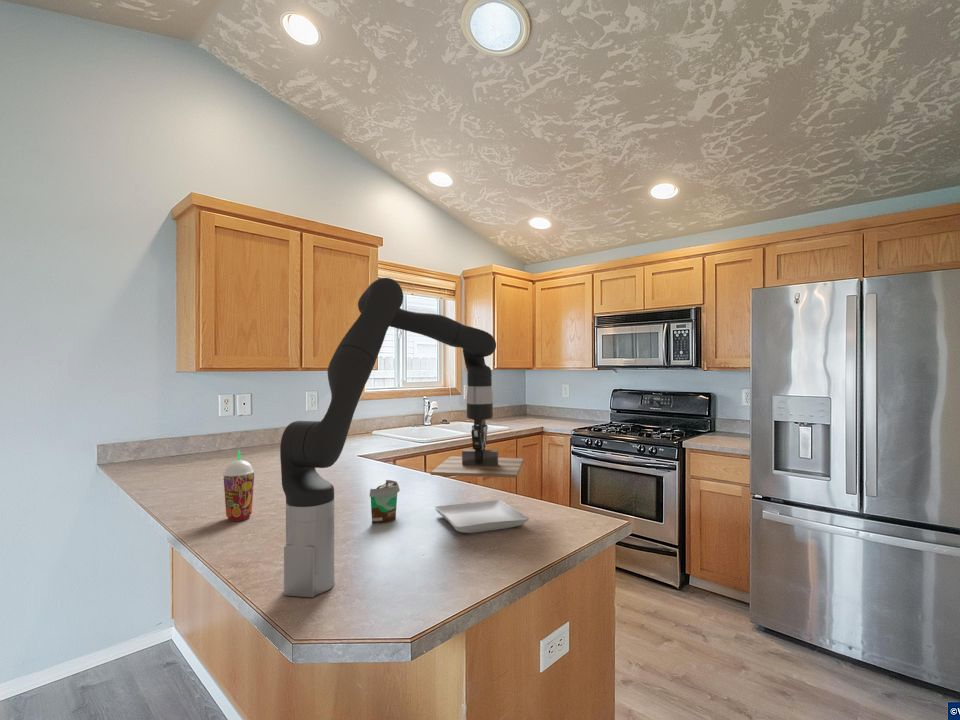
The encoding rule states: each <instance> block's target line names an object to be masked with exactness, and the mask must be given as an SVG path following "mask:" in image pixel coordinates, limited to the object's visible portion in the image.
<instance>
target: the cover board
mask: <svg viewBox="0 0 960 720" xmlns="http://www.w3.org/2000/svg"><path fill="white" fill-rule="evenodd" d="M523 463H524V457H523V458H522V457H499V450H497V449H485V450H483V463H482V464H476V463H475V450H474V449H466V448H465V449H463V450H462V451H461V456H452V455H451V456H449V457H448V458H447V459H445V460H444V461H443V462H441V463H440V464H438V465H437V467H435V468H434V469H433V470H431V471H430V476H449V477H456V476H457V477H483V478H485V477H486V478H511V479H512V478H513V479H514V478H518V475H519V473H520V471H521V469H522V465H523Z"/></svg>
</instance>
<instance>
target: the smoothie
mask: <svg viewBox="0 0 960 720" xmlns="http://www.w3.org/2000/svg"><path fill="white" fill-rule="evenodd" d="M224 470H225V471H224V472H223V473H222V475H223V487H224V488H223V490H224V504H225V516H226V517H227V520H228V521H229V522H242V521H241V520H243V521H245V519H246V520H248V519H249V518H250V517H251V514H252V513H253V512H252V511H253V500H254V499H253V498H254V485H255V484H254V482H255V472H256V471H255V469H254V468H253V465H252V464H251V463H250V462H249V461H247V460H243V459H241V450H237V459H236V460H234V461H232V462H230V463H229V464H228V465H227V466H226V468H225V469H224Z"/></svg>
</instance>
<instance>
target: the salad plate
mask: <svg viewBox="0 0 960 720" xmlns="http://www.w3.org/2000/svg"><path fill="white" fill-rule="evenodd" d="M434 508H435V509H434V510H435V511H436V512H437V513H438V514H439V515H440V516H442V517H443V518H444V520H446V521H447V522H448V523H449V524H450V525H451V526H452V527H453V528H454V529H455V530H456V531H457V532H459V533H464V534H475V533H482V532H490V531H496V530H503V529H504V530H505V529H511V528H515V527H519V526H521V525H523V524H525V523H526V522H528V520H529V518H528V517H527V516H526V515H524V514H523V513H522V512H521V511H518V510H516V508H514V507H512V506H510V505H508V504H507V503H505V502H504V501H502V500H500V499H493V500H482V501H473V502H472V501H471V502H462V503H453V504H452V503H451V504H444V505H443V504H442V505H438V506H434Z"/></svg>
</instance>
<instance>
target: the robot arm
mask: <svg viewBox="0 0 960 720" xmlns="http://www.w3.org/2000/svg"><path fill="white" fill-rule="evenodd" d="M403 301H404V293H403V289H402V287H401V285H400V283H399V282H398V281H397V280H395V279H393V278H390V277H380V278H378V279H376V280H374V281H373V282H371V283H370V284H369V286H368V287H367V288H366V289H365V290H364V291H363V293H362V294H361V295H360V297H359V299H358V301H357V307H358V311H359V313H360V314H359V315H358V317H357V319H356V320H355V321H354V323H353V324H352V325H351V327H350V328H349V329H348V331H347V332H346V333H345V335H344V336H343V338H342V339H341V341H340V342H339V344H338V346H337V347H336V349H335V351H334V353H333V355H332V357H331V359H330V361H329V364H328V367H327V379H328V384H329V385H328V386H329V390H330V394H331V398H330V403H329V406H328V408H327V410H326V413H325V415H324V416H323V418H322V419H321V420H296V421H292V422H290V423H289V424H288V425H287V426H286V427H285V429H284V431H283V433H282V434H281V439H280V446H279V447H280V451H279V455H280V471H281V472H280V473H281V487H282V490H283V493H284V495H285V546H284V547H283V595H284V596H287V597H288V596H290V597H301V598H302V597H303V598H315V597H316V596H318V595H320V594H323V593H326V592H328V591H329V590H330V589H332V588H333V586H335V488H334V485H333V484H332V483H331V482H330V481H328V480H326V479H325V478H324V477H322V476H321V475H320V474H319V473H318V472H317V470H316V469H324V468H325V469H326V468H330V467H332V466H333V465H334V464H335V463H336V462H337V461H338V460H339V459H340V457H341V454H342V452H343V449H344V446H345V443H346V440H347V437H348V434H349V431H350V429H351V424H352V421H353V418H354V415H355V411H356V409H357V406H358V403H359V402H360V399H361V397H362V394H363V392H364V388H365V387H366V384H367V382H368V380H369V379H370V376H371V374H372V371H373V369H374V368H375V367H374V366H375V364H376V362H377V359H378V356H379V354H380V351H381V349H382V345H383V343H384V342H385V341H384V340H385V339H386V334H387V333H388V332H387V331H389V330H388V329H389V327H390V328H394V329H399V330H402V331H407V332H410V333H414V334H418V335H421V336H425V337H428V338H430V339H433V340H435V341H437V342H440V343H442V344H444V345H446V346H449V347H453V348H462V354H463V359H464V363H465V364H464V365H465V367H466V370H467V371H466V372H467V374H466V375H467V376H466V377H467V378H466V379H467V381H466V382H467V384H466V386H467V387H466V418H467V419H468V420H473V425H471V431H470V432H471V442H472V450H475V463H476V464H482V463H483V450H486V448H487V444H488V428H489V425H488V424H486V420H490V419H492V418H493V415H494V408H493V407H494V401H493V399H494V398H493V397H494V396H493V395H494V394H493V388H492V387H493V386H492V375H493V374H492V369H491V368H490V366H489V365H486V362H485V357H489V356H491V355H492V354H493V353H495V351H496V348H497V341H496V339H495V338H494V336H493V335H492V334H491V333H489V332H487V331H485V330H483V329H480V328H477V327H472V326H469V325H465V324H462V323H461V322H459V321H456V320H454V319H452V318H449V317H448V316H445V315H442V314H438V313H433V312H432V313H431V312H420V311H419V312H417V311H413V310H412V311H411V310H408V309H405V308H402V305H403Z"/></svg>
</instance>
